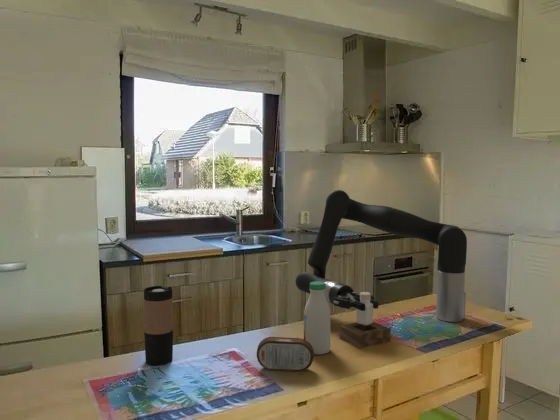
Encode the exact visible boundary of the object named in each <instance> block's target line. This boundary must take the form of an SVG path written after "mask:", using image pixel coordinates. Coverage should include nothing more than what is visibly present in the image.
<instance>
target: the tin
mask: <svg viewBox="0 0 560 420" xmlns="http://www.w3.org/2000/svg"><path fill="white" fill-rule="evenodd" d="M314 356H315V354H314V350H313V347H312V346H311V344H310V343H309V342H308V341H306V340H304V338H299V337H283V336H268V337H266V338H265V337H264V338H263V339H262V340H261V341H259V344H258V345H257V349H256V359H257V361H258V363H259V365H260V366H261V367H262V368H264V369H267V370H269V371H278V372H279V371H281V372H303V371H306V370H308V369H309V368H310V367H311V365H312V364H313V361H314V358H315V357H314Z"/></svg>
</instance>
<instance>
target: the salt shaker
mask: <svg viewBox="0 0 560 420" xmlns="http://www.w3.org/2000/svg"><path fill="white" fill-rule="evenodd" d="M359 294H360V302H361V303H364V304H365V311H361V310H359V309H356V319H355V320H356V322H357V323H359V324H362V325H369V324H371V323H373V322H374V308H373V304H372V303H370V297H371V295H372V294H371V293H370V292H368V291H362V292H361V291H360V292H359ZM356 322H355V323H356Z"/></svg>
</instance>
